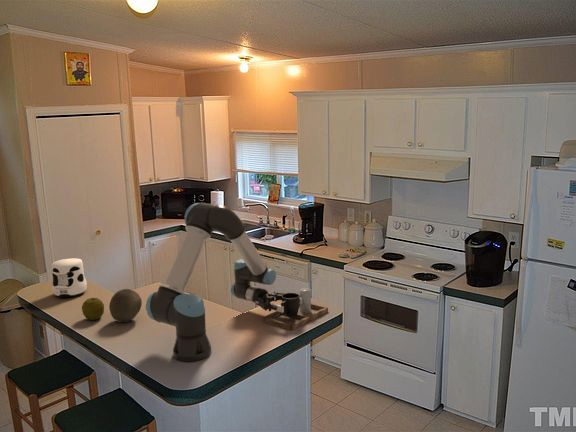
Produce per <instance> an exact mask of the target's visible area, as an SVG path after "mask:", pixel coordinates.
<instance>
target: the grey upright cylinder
mask: <svg viewBox="0 0 576 432" xmlns="http://www.w3.org/2000/svg"><path fill="white" fill-rule="evenodd" d="M298 294H299V295H300V298H301V299H302V304H300V305H299V312H302V313H305V314H307V313H310V314H311V313H312V308H311V303H312V289H311V288H307V287H302V288H299V289H298Z"/></svg>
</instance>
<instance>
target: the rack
mask: <svg viewBox="0 0 576 432" xmlns="http://www.w3.org/2000/svg"><path fill="white" fill-rule="evenodd" d="M311 307H312V308H311V309H313V308H314V310H316V309H317V311H315V312H314V313H312V314H305V313H302V312H300V311H298V314H297V316H296V318H295V319H298V318H299V319H298V320H296V321H295V322H294V323H292V324H289V323H286V322H284V321H281V320H276V319H274V318H276V317H278V316H280V315H282V314H281V313H282V312H279V311H273V312H272V313H269V314H267V315H265V316H263V317H262V322H263V323H268V324H270V323H271V325H273V324H274V326H276V325H277V327H279V326H280V328H282V327H283V329H286V330H289V331H294V330H295V329H297V328H299V327H301V326H303V325H305V324H307V323H309V322H311V321H313V320H315V319H316V318H318V317H321V316H323V315H324V314H326V313H328V312H329V307H327V306H322V305H319V304H315V303H312V302H311ZM279 314H280V315H279ZM277 315H278V316H277ZM275 316H276V317H275ZM273 317H274V318H273ZM271 318H272V319H271Z"/></svg>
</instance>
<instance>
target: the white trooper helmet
mask: <svg viewBox="0 0 576 432" xmlns="http://www.w3.org/2000/svg"><path fill="white" fill-rule="evenodd" d="M84 271H85V270H84V262H83V260H82V259H81V258H76V257H75V258H74V257H72V258H64V259H63V258H62V259H59V260H55V261H54V262H52V263H51V274H52V285H51V288H52V289H51V290H52V293H53V295H54V296H56V297H58V298H69V297H70V298H71V297H75V296H79V295H81V294H84V292H85V291H87V288H88V284H87V283H88V282H87V279H86V277H85V273H84Z"/></svg>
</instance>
